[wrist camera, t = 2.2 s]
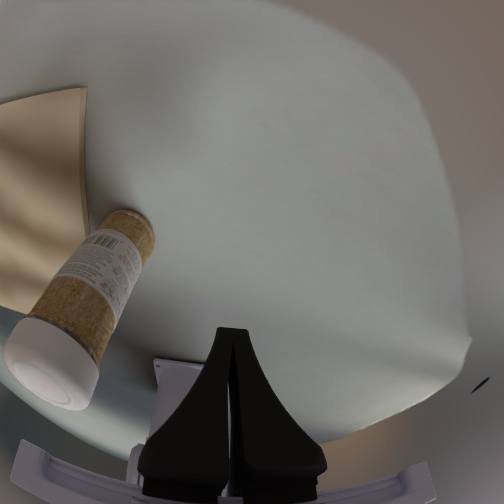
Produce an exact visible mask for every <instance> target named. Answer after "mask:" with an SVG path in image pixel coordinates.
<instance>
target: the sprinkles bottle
mask: <svg viewBox="0 0 504 504" xmlns="http://www.w3.org/2000/svg"><path fill="white" fill-rule="evenodd" d="M154 242H155V241H154V233H153V230H152V227H151V226H150V224H149V223H148V222H147V221H146V220H145V218H144V217H142V216H141V215H140V214H138V213H136V212H134V211H131V210H124V209H123V210H116V211H114V212H112V213H110V214H109V215H108V216H106V217H105V219H104V220H103V222H102V224H101V225H100V226H99V227H98V228H97V229H96V230H95V231H94V232H93V233H91V234H90V235H89V236H88V237H87V238H86V239H85V240H84V241H83V243H82V244H81V245H80V246H79V247H78V248H77V249H76V250H75V251H74V253H73V254H72V255H71V256H70V257H69V259H68V260H67V261H66V262H65V263H64V264H63V266H62V267H61V268H60V269H59V271H58V272H57V273H56V274H55V276H54V277H53V278H52V280H51V281H50V283H49V286H48V287H47V288H46V290H45V291H44V292H43V294H42V295H41V297H40V298H39V300H38V301H37V302H36V304H35V305H34V307H33V308H32V310H31V311H30V313H29V314H26V315H25V317H24V319H22V320H20V321H19V322H18V323H17V325H16V326H15V328H14V330H13V331H12V333H11V334H10V336H9V338H8V340H7V341H6V343H5V345H4V348H3V357H4V360H5V362H6V364H7V366H8V368H9V369H10V371H11V372H12V373H13V374H14V376H15V377H16V378H17V379H18V380H19V381H20V382H21V383H22V384H23V385H24V386H25V387H27V388H28V389H29V390H30V391H32V392H33V393H34V394H36V395H37V396H39V397H40V398H42V399H44V400H46V401H47V402H49V403H51V404H53V405H56V406H58V407H61V408H64V409H68V410H76V411H77V410H83V409H85V408H86V407H87V406H88V405H89V403H90V400H91V397H92V395H93V392H94V389H95V386H96V384H97V381H98V378H99V369H100V364H99V363H100V362H101V358H102V357H103V354H104V351H105V349H106V347H107V344H108V342H109V340H110V337H111V334H112V333H113V331H114V330H115V328H116V325H117V323H118V321H119V318H120V316H121V314H122V312H123V309H124V307H125V305H126V303H127V301H128V298H129V296H130V294H131V292H132V290H133V288H134V286H135V284H136V281H137V279H138V277H139V275H140V272H141V269H142V267H143V265H144V263H145V261H146V259H147V258H148V257H149V256H150V254H151V253H152V251H153V248H154Z"/></svg>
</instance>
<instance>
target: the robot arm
mask: <svg viewBox="0 0 504 504" xmlns="http://www.w3.org/2000/svg"><path fill="white" fill-rule="evenodd" d="M153 364H154V370H155V375H156V379H157V384H158V389H157V394H156V399H155V404H154V409H153V415H152V420H151V426H150V431H149V437H147V438H146V444H145V445H143V444H138V445H137V446H135V447H133V448H132V450H131V453H130V457H129V462H128V468H127V476H126V482H124V481H120V480H116V479H113V478H109V477H106V476H103V475H99V474H97V473H93V472H90V471H88V470H85V469H82V468H79V467H77V466H74V465H71V464H69V463H66V462H64V461H62V460H59V459H57V458H55V457H53V456H51V455H50V454H49V453H48V452H46V451H45V450H43V449H41V448H39V447H37V446H35V445H33V444H31V443H29V442H27V441H26V440H24V439H22V440H21V442H20V445H19V448H18V452H17V455H16V458H15V462H14V465H13V469H12V473H11V477H10V480H11V481H12V482H13V483H15V484H17V485H18V486H20V487H22V488H23V489H25V490H27V491H28V492H30V493H32V494H34V495H35V496H37V497H39V498H41V499H43V500H45V501H47V502H48V503H50V504H427V503H429V502H431V501H433V500H435V499H436V498H437V496H436V492H435V489H434V485H433V481H432V478H431V475H430V471H429V468H428V465H427V462H426V461H424V462H421V463H419V464H416V465H413V466H410V467H408V468H406V469H404V470H402V471H400V472H399V473H398V474H394V475H391V476H388V477H385V478H381V479H377V480H374V481H370V482H366V483H362V484H358V485H353V486H349V487H344V488H339V489H333V490H328V491H321V492H317V491H316V485H317V484H318V481H317V476H319V475H320V474H322V473H324V472H325V471H326V469H327V462H326V459H325V456H324V453H323V451H322V449H321V447H320V446H319V445H318V444H317V443H316V442H314V441H313V440H312V439H311V438H310V437H309V436H308V435H307V434H306V433H305V432H304V431H303V430H302V429H301V427H300V426H299V425H298V424H297V423H296V422H295V420H294V419H293V418H292V417H291V416H290V414H289V413H288V412H287V411H286V409H285V408H284V406H283V405H282V404H281V402H280V401H279V399H278V398H277V396H276V395H275V393H274V391H273V390H272V388H271V386H270V385H269V383H268V381H267V379H266V377H265V375H264V373H263V371H262V369H261V367H260V364H259V362H258V360H257V357H256V355H255V352H254V349H253V347H252V344H251V340H250V336H249V332H248V330H247V329H236V328H225V327H219V328H217V331H216V336H215V340H214V343H213V346H212V348H211V351H210V353H209V355H208V358H207V360H206V362H205V364H196V363H187V362H180V361H173V360H166V359H159V358H155V359H154V361H153ZM228 385H229V399H230V413H231V440H230V458H229V438H228Z"/></svg>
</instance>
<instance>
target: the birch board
mask: <svg viewBox="0 0 504 504" xmlns="http://www.w3.org/2000/svg"><path fill="white" fill-rule="evenodd" d="M86 96H87V87H81V88H74V89H67V90H61V91H55V92H50V93H45V94H40V95H36V96H31V97H27V98H23V99H19V100H15V101H11V102H8V103H4V104H1V105H0V305H1V306H3V307H6V308H9V309H12V310H15V311H18V312H21V313H24V314H29V313H30V311H31V310H32V308H33V307H34V305H35V304H36V302H37V301H38V300H39V298H40V297H41V295H42V294H43V292H44V291H45V290H46V288H47V287H48V286H49V283H50V281H51V280H52V278H53V277H54V276H55V274H56V273H57V272H58V271H59V269H60V268H61V267H62V266H63V264H64V263H65V262H66V261H67V260H68V259H69V257H70V256H71V255H72V254H73V253H74V251H75V250H76V249H77V248H78V247H79V246H80V245H81V244H82V243H83V241H84V240H85V239H86V238H87V237H88V236H89V235H90V229H89V220H88V211H87V199H86V185H85V158H84V136H85V110H86Z"/></svg>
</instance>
